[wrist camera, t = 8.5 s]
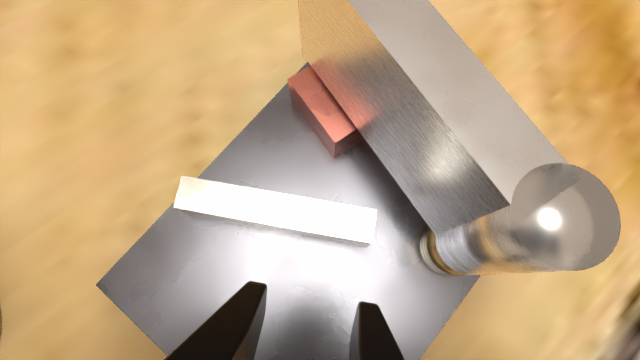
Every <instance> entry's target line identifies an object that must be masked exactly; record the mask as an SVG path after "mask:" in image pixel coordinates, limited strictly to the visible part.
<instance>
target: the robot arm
mask: <svg viewBox="0 0 640 360" xmlns="http://www.w3.org/2000/svg"><path fill="white" fill-rule="evenodd" d="M266 299H267V285H266V284H265V283H260V282H255V281H249V282H247V283H246V284H245V285H244V286H243V287H241V288H240V289H239V290H238V291H237V292H236V293H235V294H234V295H233V296H232V297H231V298H230V299H229V300H227V301H226V302H225V303H224V304H223V305H222V306H221V307H220V308H219V309H218V310H217V311H216V312H215V313H213V314H212V315H211V316H210V317H209V318H208V319H207V320H206V321H205V322H204V323H203V324H202V325H201V326H199V327H198V328H197V329H196V330H195V331H194V332H193V333H192V334H191V335H190V336H189V337H188V338H187V339H185V340H184V341H183V342H182V343H181V344H180V345H179V346H178V347H177V348H176V349H175V350H174V351H173V352H171V353H170V354H169V355H168V356H167V357H166V358H165V359H164V360H254V357H255V353H256V349H257V345H258V341H259V337H260V333H261V329H262V325H263V321H264V317H265V311H266ZM348 360H405V359H404V357H403V354H402V352H401V350H400V348H399V346H398V344H397V342H396V340H395V338H394V336H393V334H392V332H391V330H390V328H389V326H388V324H387V322H386V320H385V318H384V316H383V314H382V312H381V310H380V308H379V306H378V305H377V304H375V303H369V302H364V301H361V302H359V303H358V306H357V310H356V314H355V318H354V322H353V326H352V331H351V339H350V348H349V358H348Z"/></svg>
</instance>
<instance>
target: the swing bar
mask: <svg viewBox="0 0 640 360" xmlns="http://www.w3.org/2000/svg"><path fill="white" fill-rule="evenodd" d="M298 7H299V20H300V32H301V44H302V54H303V56H304V57H305V58H306V60H307V61H308V62H309V64H310V65H311V67H312V68H313V69H314V71H315V72H316V73H317V75H318V76H319V77H320V79H321V80H322V81H323V83H324V84H325V86H326V87H327V88H328V90H329V91H330V92H331V94H332V95H333V96H334V98H335V99H336V101H337V102H338V103H339V105H340V106H341V107H342V109H343V110H344V111H345V113H346V114H347V115H348V117H349V118H350V120H351V121H352V122H353V124H354V125H355V126H356V128H357V129H358V130H359V132H360V133H361V135H362V136H363V137H364V139H365V140H366V141H367V143H368V144H369V145H370V147H371V148H372V149H373V151H374V152H375V154H376V155H377V156H378V158H379V159H380V160H381V162H382V163H383V164H384V166H385V167H386V169H387V170H388V171H389V173H390V174H391V175H392V177H393V178H394V179H395V181H396V182H397V183H398V185H399V186H400V188H401V189H402V190H403V192H404V193H405V194H406V196H407V197H408V198H409V200H410V201H411V203H412V204H413V205H414V207H415V208H416V209H417V211H418V212H419V213H420V215H421V216H422V218H423V219H424V220H425V222H426V223H427V224H428V226H429V227H430V228H431V230H432V231H433V232H434V234H435V235H436V239H435V240H436V247H437V251H438V253H439V255H440V257H441V259H442V260H443V261H444V263H445V264H446V265H447V266H448V267H450V268H451V269H452V270H454V271H456V272H458V273H461V274H465V275H488V274H511V273H533V272H555V271H578V270H585V269H588V268H592V267H594V266H596V265H598V264H600V263H601V262H603V261H604V260H605V259H606V258H607V257H609V255H610V254H611V253H612V252H613V250H614V248H615V247H616V245H617V242H618V239H619V235H620V228H621V222H620V214H619V210H618V207H617V204H616V202H615V200H614V198H613V196H612V194H611V193H610V191H609V190H608V189H607V187H606V186H605V185H604V184H603V183H602V182H601V181H600V180H599V179H598V178H597V177H595V176H594V175H593V174H591V173H590V172H588V171H586V170H584V169H582V168H580V167H577V166H574V165H570V164H568V163H567V162H566V161H565V159H564V158H563V157H562V156H561V155H560V154H559V152H558V151H557V150H556V149H555V148H554V147H553V145H552V144H551V143H550V142H549V141H548V140H547V138H546V137H545V136H544V135H543V134H542V133H541V131H540V130H539V129H538V128H537V127H536V125H535V124H534V123H533V122H532V121H531V120H530V118H529V117H528V116H527V115H526V114H525V113H524V111H523V110H522V109H521V108H520V107H519V106H518V104H517V103H516V102H515V101H514V100H513V99H512V97H511V96H510V95H509V94H508V93H507V92H506V90H505V89H504V88H503V87H502V86H501V85H500V83H499V82H498V81H497V80H496V79H495V78H494V76H493V75H492V74H491V73H490V72H489V71H488V69H487V68H486V67H485V66H484V65H483V64H482V62H481V61H480V60H479V59H478V58H477V57H476V55H475V54H474V53H473V52H472V51H471V50H470V48H469V47H468V46H467V45H466V44H465V43H464V41H463V40H462V39H461V38H460V37H459V35H458V34H457V33H456V32H455V31H454V30H453V28H452V27H451V26H450V25H449V24H448V23H447V21H446V20H445V19H444V18H443V17H442V16H441V14H440V13H439V12H438V11H437V10H436V9H435V7H434V6H433V5H432V4H431V3H430V2H429V0H298Z"/></svg>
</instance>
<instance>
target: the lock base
mask: <svg viewBox="0 0 640 360" xmlns="http://www.w3.org/2000/svg"><path fill="white" fill-rule="evenodd" d="M435 239H436V235H435V234H434V232H433V231H432V230H431V228H430V227H429V226H428V224H427V223H426V222H425V220H424V219H423V218H422V216H421V215H420V213H419V212H418V211H417V209H416V208H415V207H414V205H413V204H412V203H411V201H410V200H409V198H408V197H407V196H406V194H405V193H404V192H403V190H402V189H401V188H400V186H399V185H398V183H397V182H396V181H395V179H394V178H393V177H392V175H391V174H390V173H389V171H388V170H387V169H386V167H385V166H384V164H383V163H382V162H381V160H380V159H379V158H378V156H377V155H376V154H375V152H374V151H373V149H372V148H371V147H370V145H369V144H368V143H367V141H366V140H365V139H364V137H363V136H362V135H361V133H360V132H359V130H358V129H357V128H356V126H355V125H354V124H353V122H352V121H351V120H350V118H349V117H348V115H347V114H346V113H345V111H344V110H343V109H342V107H341V106H340V105H339V103H338V102H337V101H336V99H335V98H334V96H333V95H332V94H331V92H330V91H329V90H328V88H327V87H326V86H325V84H324V83H323V81H322V80H321V79H320V77H319V76H318V75H317V73H316V72H315V71H314V69H313V68H312V67H311V65H310V64H309V62H307V63H306V64H305V65H304V66H303V67H302V68H301V69H300V70H299V72H298V73H297V74H295V75H294V76H292V77H291V78H289V79H288V83H287V84H286V85H285V86H284V87H283V88H282V89H281V90H280V92H279V93H278V94H277V95H276V96H275V97H274V98H273V99H272V100H271V101H270V102H269V103H268V104H267V105H266V106H265V107H264V108H263V109H262V110H261V112H260V113H259V114H258V115H257V116H256V117H255V118H254V119H253V120H252V121H251V122H250V123H249V124H248V125H247V126H246V127H245V128H244V129H243V130H242V132H241V133H240V134H239V135H238V136H237V137H236V138H235V139H234V140H233V141H232V142H231V143H230V144H229V145H228V146H227V147H226V148H225V149H224V150H223V152H222V153H221V154H220V155H219V156H218V157H217V158H216V159H215V160H214V161H213V162H212V163H211V164H210V165H209V166H208V167H207V168H206V169H205V170H204V172H203V173H202V174H201V175H200V176H199V177H198V178H192V177H186V176H182V177H181V180H180V184H179V188H178V191H177V195H176V198H175V202H174V203H173V204H172V205H171V206H170V207H169V208H168V209H167V210H166V212H165V213H164V214H163V215H162V216H161V217H160V218H159V219H158V220H157V221H156V222H155V223H154V224H153V225H152V226H151V227H150V228H149V229H148V230H147V232H146V233H145V234H144V235H143V236H142V237H141V238H140V239H139V240H138V241H137V242H136V243H135V244H134V245H133V246H132V247H131V248H130V249H129V250H128V252H127V253H126V254H125V255H124V256H123V257H122V258H121V259H120V260H119V261H118V262H117V263H116V264H115V265H114V266H113V267H112V268H111V269H110V270H109V272H108V273H107V274H106V275H105V276H104V277H103V278H102V279H101V280H100V281H99V282H98V283H97V284H96V286H97V287H98V288H99V289H100V290H101V291H102V292H103V293H104V294H105V295H106V296H107V297H109V298H110V299H111V300H112V301H113V302H114V303H115V304H116V305H117V306H118V307H119V308H120V309H121V310H122V311H123V312H124V313H125V314H126V315H127V316H128V317H129V318H130V319H131V320H132V321H133V322H134V323H135V324H136V325H137V326H138V327H139V328H140V329H141V330H142V331H143V332H144V333H145V334H146V335H147V336H148V337H149V338H150V339H151V340H152V341H153V342H154V343H155V344H156V345H157V346H158V347H159V348H160V349H161V350H162V351H163V352H164V353H165V354H166V355H167V356H168V355H169V354H170V353H171V352H173V351H174V350H175V349H176V348H177V347H178V346H179V345H180V344H181V343H182V342H183V341H184V340H185V339H187V338H188V337H189V336H190V335H191V334H192V333H193V332H194V331H195V330H196V329H197V328H198V327H199V326H201V325H202V324H203V323H204V322H205V321H206V320H207V319H208V318H209V317H210V316H211V315H212V314H213V313H215V312H216V311H217V310H218V309H219V308H220V307H221V306H222V305H223V304H224V303H225V302H226V301H227V300H229V299H230V298H231V297H232V296H233V295H234V294H235V293H236V292H237V291H238V290H239V289H240V288H241V287H243V286H244V285H245V284H246V283H247V282H249V281H255V282H260V283H265V284H266V285H267V299H266V311H265V317H264V321H263V325H262V329H261V333H260V337H259V341H258V345H257V349H256V353H255V357H254V360H348V358H349V348H350V339H351V331H352V326H353V322H354V318H355V314H356V310H357V306H358V303H359V302H361V301H364V302H369V303H375V304H377V305H378V306H379V308H380V310H381V312H382V314H383V316H384V318H385V320H386V322H387V324H388V326H389V328H390V330H391V332H392V334H393V336H394V338H395V340H396V342H397V344H398V346H399V348H400V350H401V352H402V354H403V357H404V359H405V360H419V359H420V358H421V357H422V355H423V354H424V353H425V351H426V350H427V348H428V347H429V346H430V344H431V343H432V341H433V340H434V339H435V337H436V336H437V335H438V333H439V332H440V330H441V329H442V328H443V326H444V325H445V324H446V322H447V321H448V319H449V318H450V317H451V315H452V314H453V313H454V311H455V310H456V308H457V307H458V306H459V304H460V303H461V301H462V300H463V299H464V297H465V296H466V295H467V293H468V292H469V290H470V289H471V288H472V286H473V285H474V284H475V282H476V281H477V279H478V278H479V277H480V275H465V274H461V273H458V272H456V271H454V270H452V269H451V268H450V267H448V266H447V265H446V264H445V263H444V261H443V260H442V259H441V257H440V255H439V253H438V251H437V247H436V240H435Z"/></svg>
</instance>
